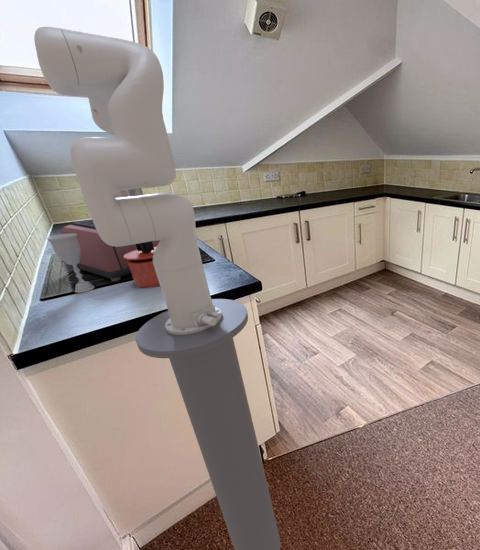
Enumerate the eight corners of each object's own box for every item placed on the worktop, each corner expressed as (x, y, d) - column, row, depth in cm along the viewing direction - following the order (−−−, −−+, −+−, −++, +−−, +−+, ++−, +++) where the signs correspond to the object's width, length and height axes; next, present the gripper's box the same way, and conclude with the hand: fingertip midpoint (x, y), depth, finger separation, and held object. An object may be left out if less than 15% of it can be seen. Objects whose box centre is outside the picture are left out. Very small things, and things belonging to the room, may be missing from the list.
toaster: (206, 252, 132) (196, 212, 125) (112, 283, 102) (93, 232, 95) (165, 245, 145) (154, 208, 138) (71, 269, 115) (51, 224, 109)
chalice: (103, 286, 100) (82, 234, 93) (81, 294, 94) (57, 239, 87) (88, 284, 102) (66, 232, 95) (65, 292, 96) (40, 238, 89)
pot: (182, 276, 106) (175, 254, 103) (148, 289, 97) (140, 265, 93) (162, 272, 111) (155, 250, 108) (128, 284, 101) (119, 260, 98)
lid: (177, 252, 103) (172, 233, 100) (138, 263, 92) (131, 243, 90) (155, 248, 108) (149, 230, 105) (116, 258, 98) (108, 239, 95)
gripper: (156, 193, 92) (172, 250, 99) (126, 191, 99) (143, 244, 106) (129, 196, 86) (149, 256, 93) (99, 194, 93) (120, 251, 100)
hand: (146, 250), depth 99 cm, fingers closed on lid, 2 cm apart
